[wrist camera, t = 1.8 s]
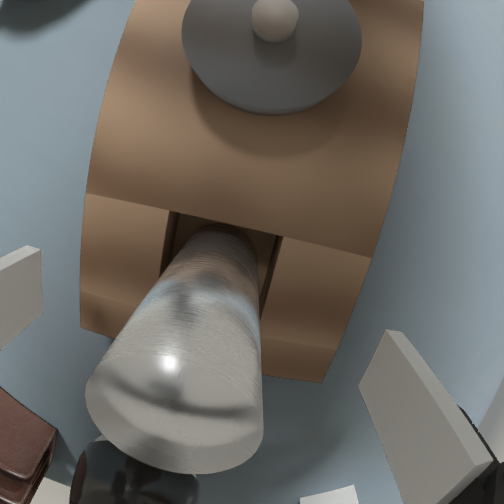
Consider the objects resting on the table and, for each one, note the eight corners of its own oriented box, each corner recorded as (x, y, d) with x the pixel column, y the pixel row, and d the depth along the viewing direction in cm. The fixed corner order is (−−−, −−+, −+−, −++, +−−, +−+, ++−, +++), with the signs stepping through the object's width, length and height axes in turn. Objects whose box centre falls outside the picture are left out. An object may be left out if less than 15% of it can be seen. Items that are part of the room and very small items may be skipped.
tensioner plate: (175, -33, 12) (148, -90, 6) (401, 19, 13) (453, -22, 7) (101, 305, 18) (53, 357, 12) (313, 353, 19) (332, 422, 13)
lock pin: (190, 216, 16) (78, 329, 5) (265, 233, 16) (287, 381, 5) (178, 285, 17) (94, 447, 6) (247, 301, 17) (241, 484, 6)
